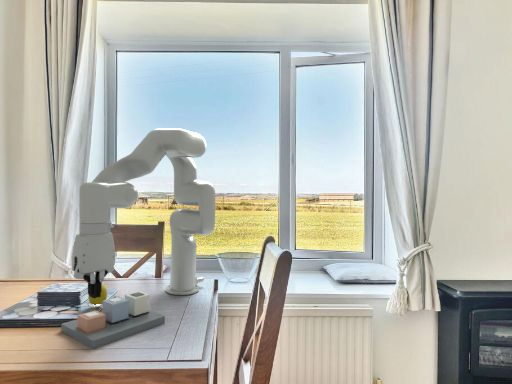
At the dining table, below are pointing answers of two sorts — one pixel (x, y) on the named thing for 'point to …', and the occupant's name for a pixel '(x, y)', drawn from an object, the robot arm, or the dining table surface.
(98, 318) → the key terracotta
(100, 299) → the lemon
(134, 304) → the key cream
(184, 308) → the dining table surface
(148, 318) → the keypad board
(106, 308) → the key slate
